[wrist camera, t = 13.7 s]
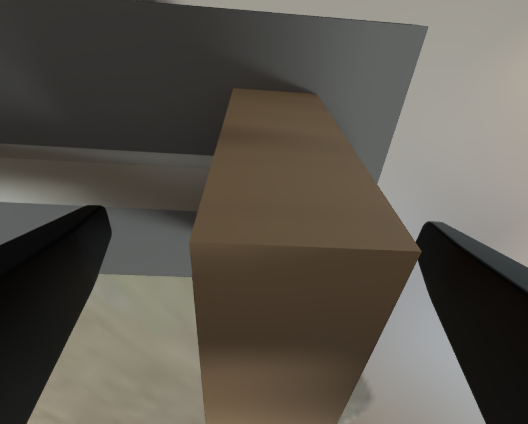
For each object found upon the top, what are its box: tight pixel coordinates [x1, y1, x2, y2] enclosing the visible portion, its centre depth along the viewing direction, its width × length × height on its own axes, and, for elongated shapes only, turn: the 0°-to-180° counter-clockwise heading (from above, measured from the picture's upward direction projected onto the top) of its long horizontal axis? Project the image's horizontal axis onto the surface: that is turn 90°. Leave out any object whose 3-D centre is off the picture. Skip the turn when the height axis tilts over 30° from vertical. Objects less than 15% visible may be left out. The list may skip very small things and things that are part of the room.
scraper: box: [0, 88, 422, 424], centre depth 7 cm, size 7×14×7 cm, turn 86°
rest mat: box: [0, 0, 428, 277], centre depth 11 cm, size 10×18×1 cm, turn 86°
